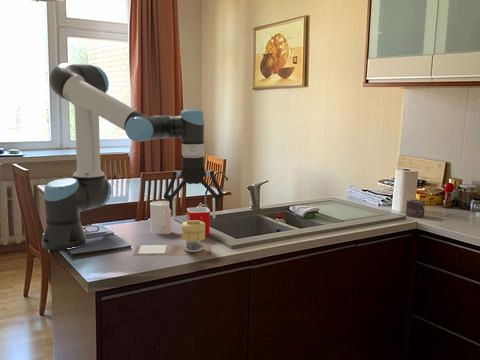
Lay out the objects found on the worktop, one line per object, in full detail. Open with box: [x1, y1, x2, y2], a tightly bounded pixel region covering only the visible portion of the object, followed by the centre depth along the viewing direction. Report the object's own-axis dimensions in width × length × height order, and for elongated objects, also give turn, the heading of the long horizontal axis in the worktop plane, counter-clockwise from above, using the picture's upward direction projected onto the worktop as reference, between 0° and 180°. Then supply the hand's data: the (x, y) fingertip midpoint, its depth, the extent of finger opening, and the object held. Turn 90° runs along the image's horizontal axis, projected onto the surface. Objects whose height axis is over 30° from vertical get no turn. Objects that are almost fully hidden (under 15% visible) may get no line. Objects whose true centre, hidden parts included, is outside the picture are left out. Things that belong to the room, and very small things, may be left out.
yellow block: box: [181, 220, 206, 242], centre depth 164 cm, size 8×8×6 cm
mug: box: [149, 200, 173, 235], centre depth 188 cm, size 12×8×12 cm
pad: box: [138, 244, 168, 255], centre depth 164 cm, size 9×9×1 cm
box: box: [405, 198, 426, 219], centre depth 221 cm, size 6×6×7 cm
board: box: [132, 244, 212, 257], centre depth 165 cm, size 26×11×1 cm, turn 95°
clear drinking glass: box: [183, 240, 204, 253], centre depth 164 cm, size 7×7×7 cm
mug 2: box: [186, 206, 211, 237], centre depth 182 cm, size 12×8×11 cm
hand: (194, 217), depth 163 cm, fingers open, 13 cm apart
